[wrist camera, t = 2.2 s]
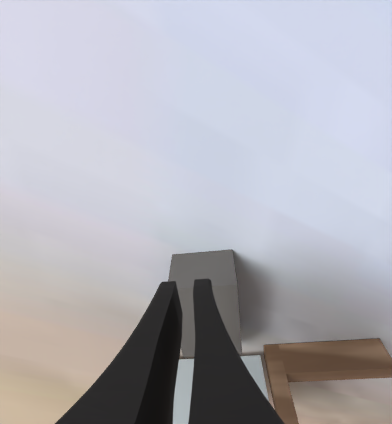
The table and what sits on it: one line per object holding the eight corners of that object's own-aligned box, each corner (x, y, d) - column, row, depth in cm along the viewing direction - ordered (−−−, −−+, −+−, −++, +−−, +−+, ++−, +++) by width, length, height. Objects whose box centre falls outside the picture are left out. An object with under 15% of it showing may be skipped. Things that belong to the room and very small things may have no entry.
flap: (260, 358, 29) (275, 440, 23) (174, 363, 29) (167, 444, 23) (260, 355, 28) (275, 437, 22) (173, 359, 29) (165, 440, 23)
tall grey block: (238, 328, 28) (243, 368, 24) (188, 331, 28) (186, 370, 25) (232, 249, 23) (237, 284, 19) (172, 254, 23) (166, 289, 20)
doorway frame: (376, 347, 29) (454, 481, 20) (158, 359, 30) (139, 485, 22) (379, 338, 28) (461, 472, 19) (155, 351, 30) (134, 478, 21)
